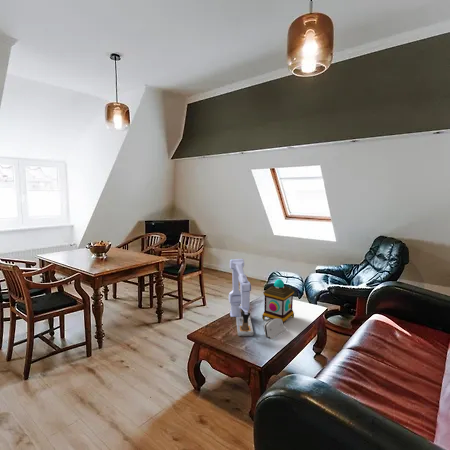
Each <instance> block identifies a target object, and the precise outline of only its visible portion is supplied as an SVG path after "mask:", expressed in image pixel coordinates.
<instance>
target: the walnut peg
mask: <svg viewBox="0 0 450 450" xmlns="http://www.w3.org/2000/svg"><path fill="white" fill-rule="evenodd" d="M242 330H248V322H247V323H244V320H243V319H242Z"/></svg>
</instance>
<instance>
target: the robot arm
mask: <svg viewBox="0 0 450 450" xmlns="http://www.w3.org/2000/svg"><path fill="white" fill-rule="evenodd" d="M228 263H229V269H230V270H231V271H232V273H231V274H232V275H231V276H232V282H231V283H232V290H231V291H230V292H229V293H228V302H229V304H230V311H229V314H230V317H233V318H234V317H235V318H236V317H243V320H244V323H247V322H248V318H249V317H251V313H250V312H249V310H250V309H251V308H250V305H251V304H250V303H251V301H250V300H251V299H250V298H251V297H250V296H251V291H252V284H251V282H250V281H249V280H248V276H247V275H246V274H245V271H244V268H245V260H244V259H243V258H234V259H230V260H229V262H228Z"/></svg>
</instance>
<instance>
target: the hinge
mask: <svg viewBox="0 0 450 450" xmlns="http://www.w3.org/2000/svg"><path fill="white" fill-rule="evenodd" d="M287 330H288V329H287V328H286V327H285V323H284V324H283V321H282V319H270V320H267V321H266V322H265V324H263V332H264V337H267V338H269V339H270V340H272V339H275V338H277V337H278V336H280V335H281V334H284V333H286V332H287Z"/></svg>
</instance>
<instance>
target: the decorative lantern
mask: <svg viewBox="0 0 450 450" xmlns="http://www.w3.org/2000/svg"><path fill="white" fill-rule="evenodd" d="M294 293H295V290H294V289H292V288H291V287H288V286H287V285H286V284H285V283H284V281H283V280H282V279H281V278H278V279H276V280H275V281H274V283H273V285H272V286H270V287H269V288H266V289H265V290H264V291H263V295H264V307H263V309H264V311H263V313H262V314H261V317H262V320H265V319H266V318H268V319H270V320H272V319H282V321H283V324H284V325H285V322H286V321H288V320H289V319H290V318H295V312H294V310H293V303H294V302H293V300H294V298H293V297H294Z"/></svg>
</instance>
